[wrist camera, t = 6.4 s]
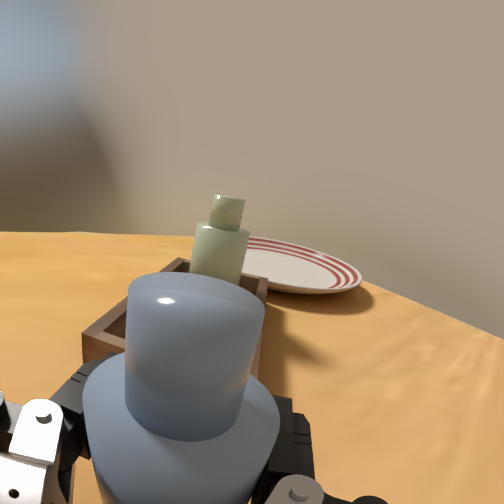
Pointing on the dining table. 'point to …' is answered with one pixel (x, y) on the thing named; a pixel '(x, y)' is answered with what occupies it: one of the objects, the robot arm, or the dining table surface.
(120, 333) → the caddy
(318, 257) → the dinner plate
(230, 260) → the green bottle
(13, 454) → the robot arm
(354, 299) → the dining table surface
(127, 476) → the blue bottle
